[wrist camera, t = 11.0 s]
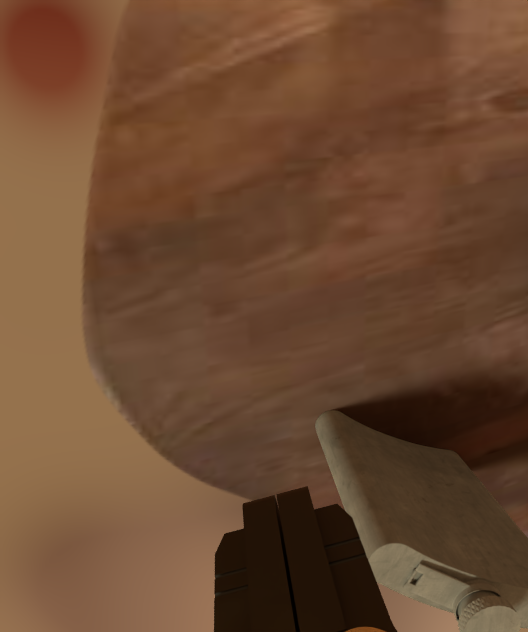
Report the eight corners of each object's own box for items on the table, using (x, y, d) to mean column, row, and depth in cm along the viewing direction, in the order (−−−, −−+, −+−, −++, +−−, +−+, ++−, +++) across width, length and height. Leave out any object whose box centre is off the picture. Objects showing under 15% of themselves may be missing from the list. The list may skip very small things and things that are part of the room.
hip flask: (465, 455, 50) (619, 633, 31) (446, 488, 51) (584, 681, 32) (323, 405, 47) (394, 569, 28) (306, 441, 48) (363, 623, 29)
